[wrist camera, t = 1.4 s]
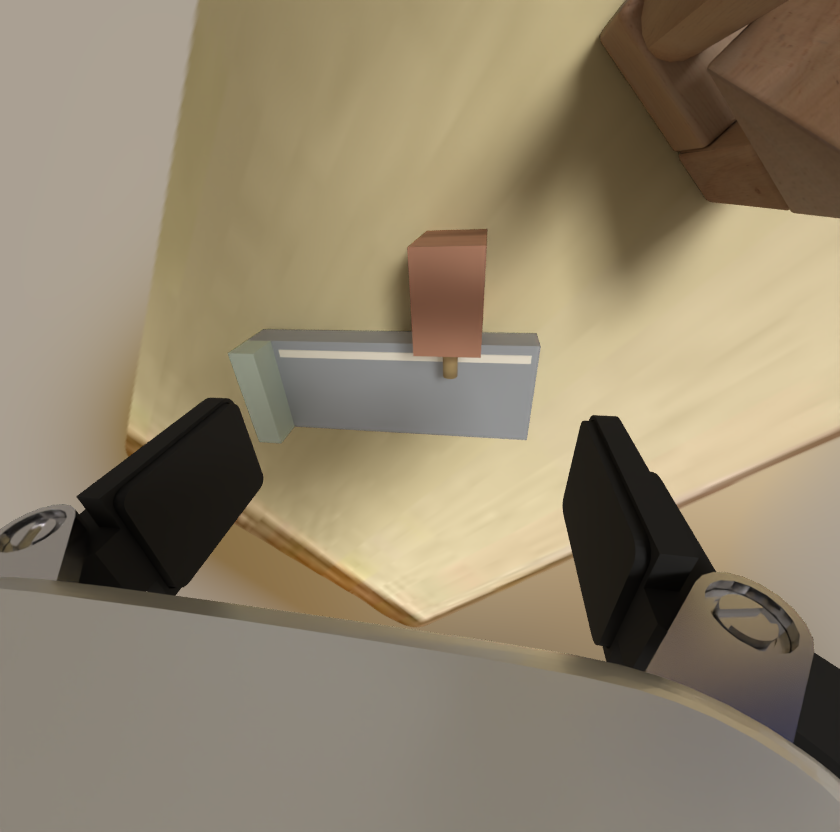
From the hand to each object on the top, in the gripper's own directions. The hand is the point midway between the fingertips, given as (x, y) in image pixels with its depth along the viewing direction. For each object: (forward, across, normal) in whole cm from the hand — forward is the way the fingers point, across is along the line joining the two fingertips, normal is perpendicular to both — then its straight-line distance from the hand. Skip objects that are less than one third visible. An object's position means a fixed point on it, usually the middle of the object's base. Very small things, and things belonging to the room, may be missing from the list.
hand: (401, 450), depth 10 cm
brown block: (+19, 0, 0) cm, 19 cm away
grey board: (+19, +5, +7) cm, 21 cm away
